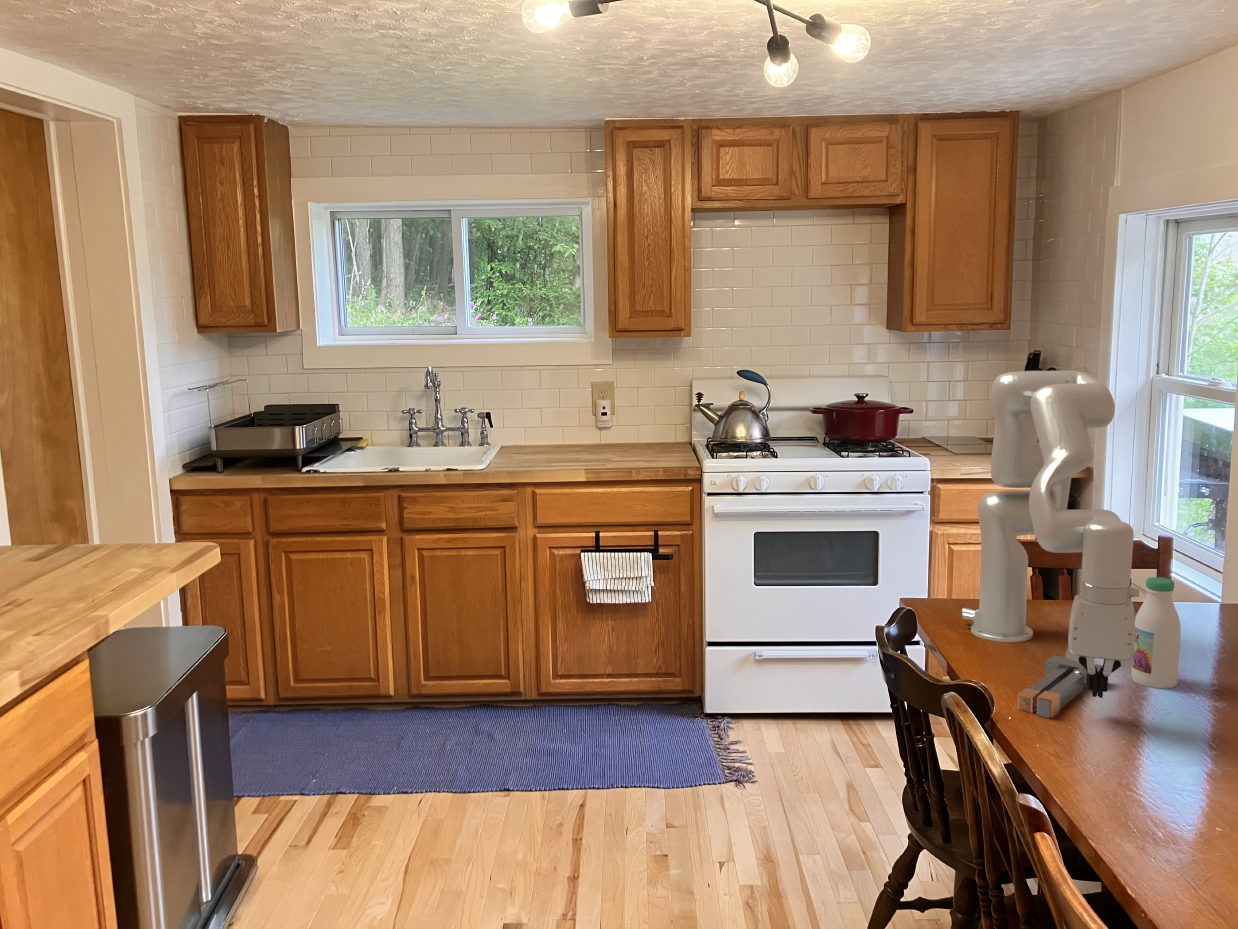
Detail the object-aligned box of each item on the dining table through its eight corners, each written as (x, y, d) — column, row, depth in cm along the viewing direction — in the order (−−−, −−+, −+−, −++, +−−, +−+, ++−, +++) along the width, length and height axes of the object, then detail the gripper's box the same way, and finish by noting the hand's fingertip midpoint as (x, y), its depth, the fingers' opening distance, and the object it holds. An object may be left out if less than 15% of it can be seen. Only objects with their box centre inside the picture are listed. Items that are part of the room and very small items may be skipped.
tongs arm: (1074, 683, 188) (1075, 667, 188) (1089, 687, 187) (1089, 670, 186) (1035, 715, 175) (1036, 697, 174) (1050, 719, 173) (1051, 701, 172)
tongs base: (1006, 708, 179) (1006, 689, 178) (1052, 672, 195) (1053, 655, 195) (1064, 722, 172) (1065, 703, 171) (1107, 684, 189) (1108, 666, 188)
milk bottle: (1172, 677, 191) (1179, 575, 188) (1180, 692, 184) (1188, 586, 181) (1128, 673, 194) (1134, 573, 191) (1134, 687, 187) (1140, 583, 184)
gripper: (1151, 590, 170) (1143, 692, 174) (1056, 582, 176) (1049, 680, 179) (1156, 604, 163) (1147, 709, 167) (1056, 594, 169) (1050, 696, 173)
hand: (1097, 694), depth 173 cm, fingers closed
